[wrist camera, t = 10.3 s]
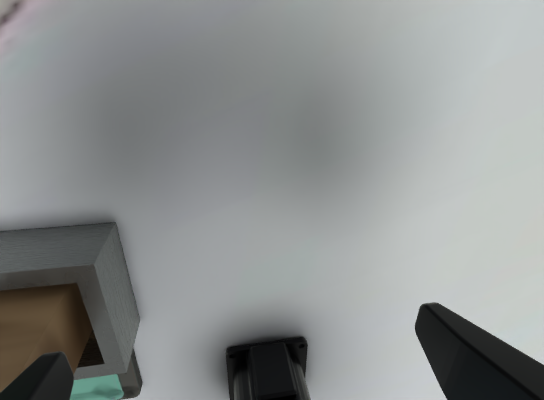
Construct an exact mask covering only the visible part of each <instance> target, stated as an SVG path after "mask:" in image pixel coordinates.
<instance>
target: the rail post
mask: <svg viewBox="0 0 544 400" xmlns="http://www.w3.org/2000/svg"><path fill="white" fill-rule="evenodd" d="M92 329H93V328H92V325H91V322H90V319H89V316H88V313H87V311H86V308H85V305H84V302H83V299H82V296H81V293H80V290H79V287H78V284H77V283H70V284H60V285H50V286H40V287H30V288H21V289H11V290H1V291H0V392H1V391H2V390H3V389H4V388H6V387H7V386H8V385H9V384H10V383H11V382H12V381H13V380H14V379H15V378H16V377H17V376H19V375H20V374H21V373H22V372H23V371H24V370H25V369H26V368H27V367H28V366H29V365H31V364H32V363H33V362H34V361H35V360H36V359H37V358H38V357H39V356H41V355H42V354H44V353H50V352H57V351H62V352H64V353H65V355H66V357H67V359H68V361H69V364H70V366H71V369H72V371H73V374H74V373H75V371H76V368H77V366H78V364H79V361H80V359H81V356H82V354H83V351H84V349H85V346H86V344H87V342H88V339H89V337H90V334H91V332H92Z"/></svg>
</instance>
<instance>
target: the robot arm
mask: <svg viewBox="0 0 544 400" xmlns="http://www.w3.org/2000/svg"><path fill="white" fill-rule="evenodd" d="M415 331H416V335H417V337H418V339H419V341H420V343H421V346H422V348H423V350H424V352H425V354H426V357H427V359H428V361H429V363H430V365H431V367H432V370H433V372H434V374H435V376H436V378H437V381H438V383H439V385H440V387H441V389H442V391H443V393H444V394H445V396H446V398H447V400H544V365H543V364H541V363H539V362H538V361H536V360H534V359H533V358H531V357H529V356H528V355H526V354H524V353H522V352H521V351H519V350H517V349H516V348H514V347H512V346H511V345H509V344H507V343H505V342H504V341H502V340H500V339H499V338H497V337H495V336H493V335H492V334H490V333H488V332H487V331H485V330H483V329H482V328H480V327H478V326H476V325H475V324H473V323H471V322H470V321H468V320H466V319H464V318H463V317H461V316H459V315H458V314H456V313H454V312H453V311H451V310H449V309H447V308H446V307H444V306H442V305H441V304H439V303H435V302H434V303H426V304H422V305H421V306H420V309H419V312H418V316H417V319H416V323H415ZM307 346H308V345H307V341H306V339H305V338H295V339H288V340H281V341H274V342H266V343H259V344H252V345H245V346H238V347H231V348H229V349H227V351H226V361H227V372H228V383H229V394H230V400H311V399H310V396H309V392H308V388H307V385H306V381H305V372H306V359H307ZM73 384H74V374H73V371H72V369H71V366H70V364H69V361H68V359H67V357H66V355H65V353H64V352H62V351H57V352H50V353H44V354H42V355H41V356H39V357H38V358H37V359H36V360H35V361H34V362H33V363H32V364H31V365H29V366H28V367H27V368H26V369H25V370H24V371H23V372H22V373H21V374H20V375H19V376H17V377H16V378H15V379H14V380H13V381H12V382H11V383H10V384H9V385H8V386H7V387H6V388H4V389H3V390H2V391H1V392H0V400H70V397H71V392H72V388H73Z"/></svg>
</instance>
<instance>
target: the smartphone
mask: <svg viewBox="0 0 544 400" xmlns="http://www.w3.org/2000/svg"><path fill="white" fill-rule="evenodd" d="M141 387H142V380H141V376H140V372H139V368H138V364H137V361H136V357H135V353H134V349H133V350H132V354H131V358H130V362H129V366H128V369H127V373H121V374H114V375H107V376H100V377H93V378H86V379H80V380H74V384H73V388H72V392H71V397H70V400H121V399H128V398H134V397H137V396H138V395H139V394H140V391H141Z"/></svg>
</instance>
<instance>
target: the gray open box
mask: <svg viewBox="0 0 544 400" xmlns="http://www.w3.org/2000/svg"><path fill="white" fill-rule="evenodd" d="M70 283H77V284H78V287H79V290H80V293H81V296H82V299H83V302H84V305H85V308H86V311H87V313H88V316H89V319H90V322H91V325H92V328H93V329H92V332H91V334H90V337H89V339H88V342H87V344H86V346H85V349H84V351H83V354H82V356H81V359H80V361H79V364H78V366H77V368H76V371H75V373H74V380H80V379H86V378H93V377H100V376H107V375H114V374H121V373H127V369H128V366H129V362H130V358H131V354H132V350H133V346H134V342H135V338H136V334H137V330H138V326H139V322H140V319H139V315H138V311H137V307H136V303H135V299H134V295H133V291H132V287H131V283H130V279H129V275H128V271H127V267H126V263H125V259H124V255H123V251H122V247H121V242H120V238H119V234H118V230H117V226H116V223H104V224H91V225H78V226H65V227H52V228H39V229H26V230H14V231H1V232H0V291H1V290H11V289H21V288H30V287H40V286H50V285H60V284H70Z"/></svg>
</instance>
